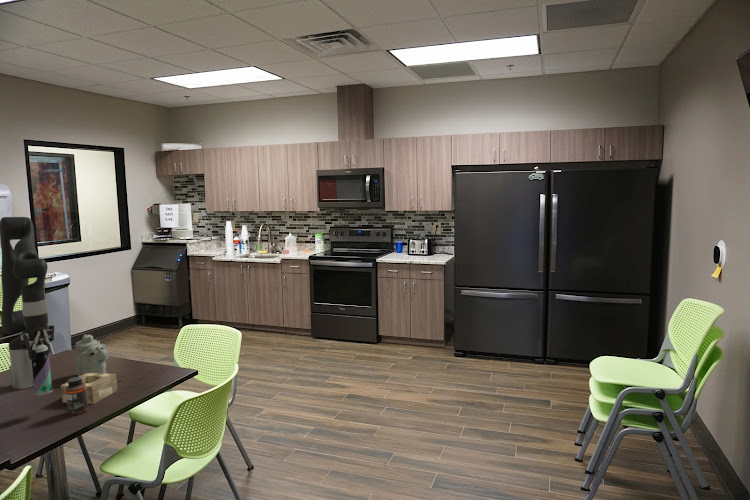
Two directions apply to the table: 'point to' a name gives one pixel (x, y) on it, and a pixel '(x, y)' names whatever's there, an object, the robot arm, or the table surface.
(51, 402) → the table surface
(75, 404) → the supplement bottle
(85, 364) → the grey animal cookie jar
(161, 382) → the table surface
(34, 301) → the robot arm
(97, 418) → the table surface
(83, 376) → the tube block
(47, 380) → the spray can
